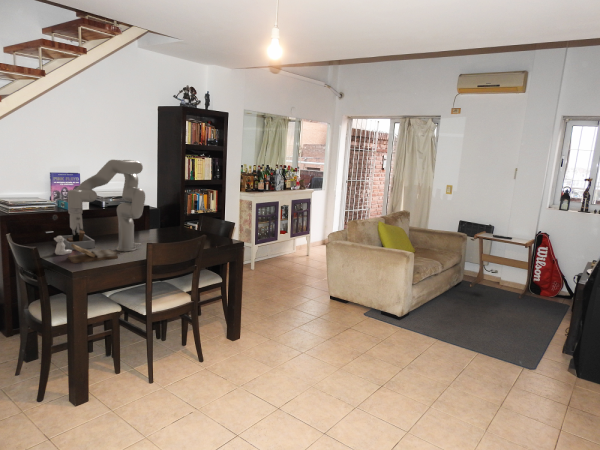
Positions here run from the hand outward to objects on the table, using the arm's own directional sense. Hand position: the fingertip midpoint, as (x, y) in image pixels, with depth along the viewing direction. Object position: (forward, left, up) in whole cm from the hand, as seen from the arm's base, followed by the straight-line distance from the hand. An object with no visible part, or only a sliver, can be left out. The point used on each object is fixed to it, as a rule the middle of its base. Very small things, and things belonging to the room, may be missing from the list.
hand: (76, 241), depth 256 cm
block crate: (-10, -39, -12) cm, 42 cm away
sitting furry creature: (+4, -19, -12) cm, 23 cm away
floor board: (-9, 0, -12) cm, 15 cm away
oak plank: (-3, 0, -7) cm, 8 cm away
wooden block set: (-11, -39, -13) cm, 42 cm away
